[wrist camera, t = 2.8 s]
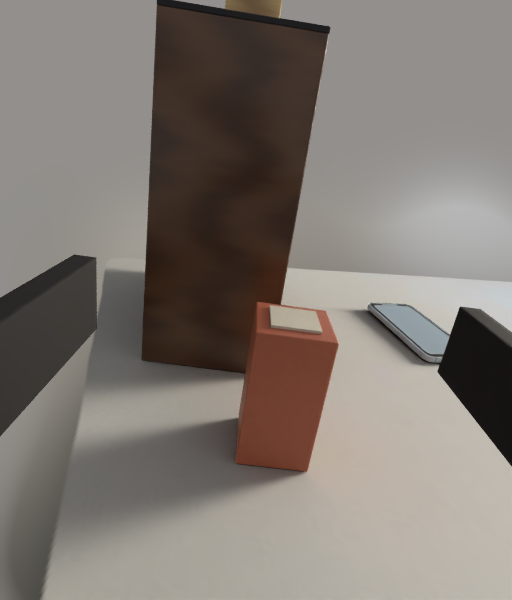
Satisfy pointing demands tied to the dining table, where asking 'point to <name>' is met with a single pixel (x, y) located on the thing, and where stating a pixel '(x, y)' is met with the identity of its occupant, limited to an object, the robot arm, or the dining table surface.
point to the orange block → (284, 386)
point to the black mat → (244, 15)
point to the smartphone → (413, 329)
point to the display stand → (223, 179)
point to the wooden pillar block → (256, 7)
